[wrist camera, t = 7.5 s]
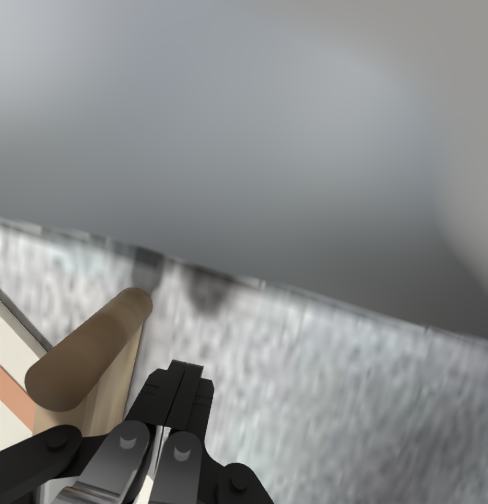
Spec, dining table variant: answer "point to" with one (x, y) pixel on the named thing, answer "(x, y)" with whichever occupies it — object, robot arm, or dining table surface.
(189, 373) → the robot arm
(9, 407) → the card
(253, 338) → the dining table surface
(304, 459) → the dining table surface
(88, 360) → the fence gate
